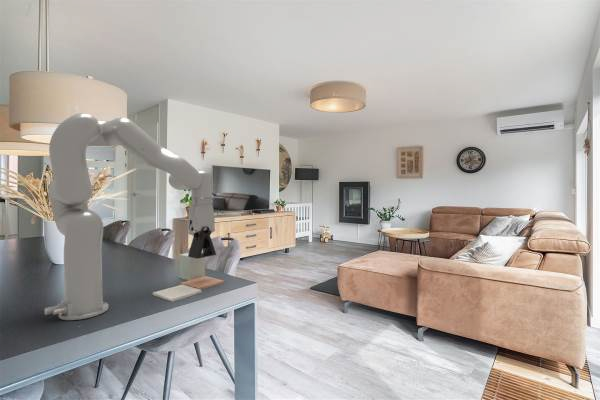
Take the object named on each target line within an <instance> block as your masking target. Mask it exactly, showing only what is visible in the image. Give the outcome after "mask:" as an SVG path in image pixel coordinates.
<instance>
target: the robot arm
mask: <svg viewBox="0 0 600 400" xmlns="http://www.w3.org/2000/svg"><path fill="white" fill-rule="evenodd" d="M116 146H121V147H123V149H125V150H126V151H127V152H129V153H130V154H131V155H132V156H134V157H135V158H136V159H138V161H140V162H142V163H143V164H144V165H146V166H148V167H151V168H154V169H157V170H161V171H164V172H166V173H167V174H169V176H168V183H169V185H170V186H171V188H173V189H175V190H179V191H185V190H186V191H187V190H191V205H190V206H189V209H188V213H187V233H188V235H190V236H192V237H195V239H196V240H199V239H200V237H201V231H202V228H203V227H205V228H204V231H207V230H208V229H207V227H209V234H210V235H212V234H213V233H214V232H216V229H215V223H216V222H215V212H214V206H213V205H212V203H214V199H212V173H211V172H209V171H203V170H202V171H201V170H197V169H196V167H194V166H193V165H192V164H191V163H190V162H189V161H187V160H186V159H185V158H183V157H181V156H180V155H178V154H177V153H175V152H173V151H171V150H169V149H168V148H166V147H164V146H162V145H161V144H160V143H158V142H157V141H156V140H155V139H154V138H152V137H151V136H150V134H148V133H147V132H146V131H145V130H143V129H142V128H141V127H140V126H139V125H137V124H136V123H135V122H134V121H133V120H132V119H130V118H127V117H121V116H120V117H115V118H114V119H111V120H106V121H105V120H98V119H97V118H96V117H95V116H93V115H92V114H91V113H90V114H89V113H75V114H73V115H71V116H69V117H68V118H67V117H66V119H64V120H63V121H62V122H61V123H60V124H59V125H58V126H57V127H56V128H55V130H54V132H53V133H52V135H51V138H50V140H49V148H48V153H49V160H50V166H51V171H52V176H53V179H52V180H51V182H50V184H49V185H48V198H49V201H50V202H49V203H50V205H51V206H50V207H51V210H52V211H51V212H52V214H53V218H54V223H55V226H56V228H57V230H58V231H59V232H60V234H61V235H63V236H64V243H63V278H64V282H63V283H64V287H63V288H64V299H62V300H61V301H60V303H58V304H57V305H54V306H52V305H51V306H48V307H45V308H44V309H43V310H44V316H47V315H51V314H53V315H58V319H60V320H63V321H78V320H85V319H89V318H93V317H96V316H99V315H101V314H104V313H105V312H106V311H108V309H109V303H107V302H105V301H103V299H104V298H103V295H104V294H103V257H102V256H103V255H102V253H103V251H102V250H103V236H104V222H103V220H102V218H101V216H100V215H99V214H98V213H97V212H96V211H93V210H90V209H89V204H88V201H89V200H90V199H91V198H92V196H93V192H94V190H93V185H92V182H91V177H90V173H89V169H88V164H87V156H86V153H87V147H116ZM206 226H207V227H206ZM203 248H208V242H207V239H204V244H203Z"/></svg>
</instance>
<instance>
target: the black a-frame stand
mask: <svg viewBox="0 0 600 400" xmlns="http://www.w3.org/2000/svg"><path fill="white" fill-rule="evenodd" d="M206 227H207V226H206ZM204 228H205V227H203V228H202V231H201V237H200V239H199V240H196V239H195V237H194V236H192V237H193V238H192V241H191V244H190V248H189V252H188V253H189V254H188V257H192V258H197V259H199V258H203V257H205V258H207V257H213V256H216V255H217V252H216V249H215V247H214V243H213V240H212V238H211V234H209V227H207V229H208V230H207V231H204ZM204 239H207V242H208V248H203V244H204Z"/></svg>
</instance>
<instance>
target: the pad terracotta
mask: <svg viewBox="0 0 600 400" xmlns="http://www.w3.org/2000/svg"><path fill="white" fill-rule="evenodd" d="M223 283H225V280H223V279H219V278H214V277H211V276H207V275H205V276H204V277H200V278H196V279H192V280H185V281H182V282H180V283H179V285H186V286H189V287H193V288H196V289H199V290H205V289H207V288H211V287H214V286H217V285H221V284H223Z"/></svg>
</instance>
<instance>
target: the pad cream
mask: <svg viewBox="0 0 600 400" xmlns="http://www.w3.org/2000/svg"><path fill="white" fill-rule="evenodd" d="M201 293H203V289H201V290H199V289H196V288H193V287H189V286H186V285H180V284H179V285H176V286H173V287H167V288H165V289H160V290H158V291H153V292H152V295H153V296H155V297H157V298H160V299H163V300H165V301H169V302H175V301H178V300H182V299H184V298H189V297H192V296H194V295H197V294H201Z"/></svg>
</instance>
